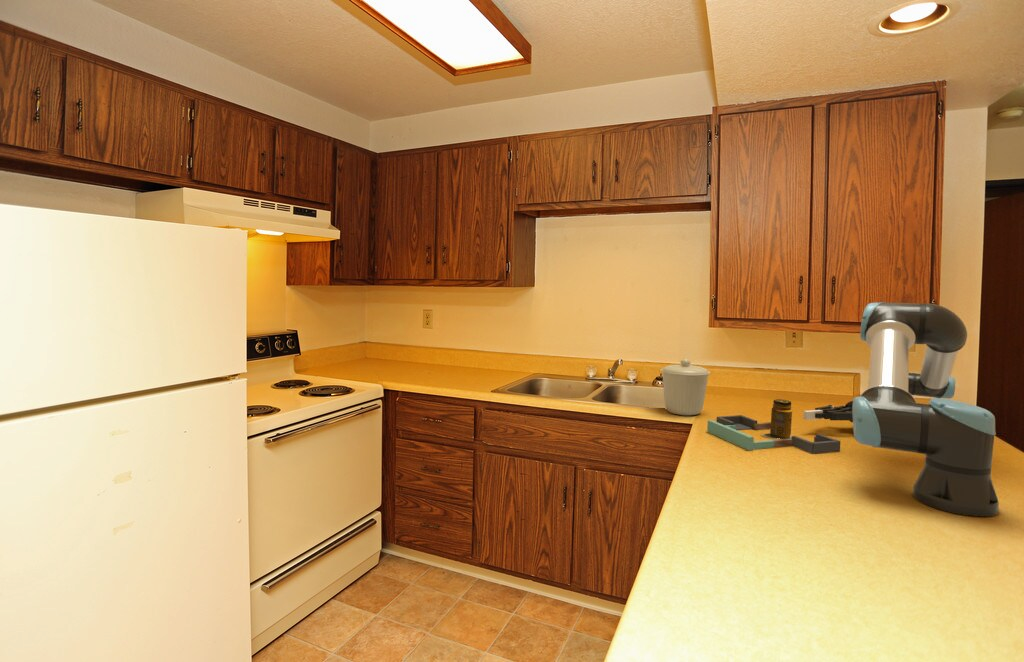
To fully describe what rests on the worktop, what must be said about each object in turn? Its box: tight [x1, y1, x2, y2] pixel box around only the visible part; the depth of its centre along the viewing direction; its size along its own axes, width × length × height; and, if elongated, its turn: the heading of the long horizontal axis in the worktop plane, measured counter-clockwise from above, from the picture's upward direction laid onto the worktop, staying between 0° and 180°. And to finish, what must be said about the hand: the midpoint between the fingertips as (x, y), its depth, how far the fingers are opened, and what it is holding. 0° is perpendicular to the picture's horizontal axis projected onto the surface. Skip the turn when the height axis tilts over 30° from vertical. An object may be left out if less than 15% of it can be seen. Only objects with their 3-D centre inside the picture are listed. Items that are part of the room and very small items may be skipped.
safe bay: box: [706, 419, 774, 451], centre depth 171 cm, size 10×20×4 cm, turn 15°
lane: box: [752, 421, 817, 448], centre depth 175 cm, size 20×19×2 cm
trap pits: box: [715, 414, 841, 454], centre depth 175 cm, size 18×34×3 cm, turn 15°
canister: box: [660, 358, 711, 416], centre depth 206 cm, size 18×18×21 cm
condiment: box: [761, 398, 793, 440], centre depth 175 cm, size 7×8×12 cm
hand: (805, 415), depth 178 cm, fingers closed
